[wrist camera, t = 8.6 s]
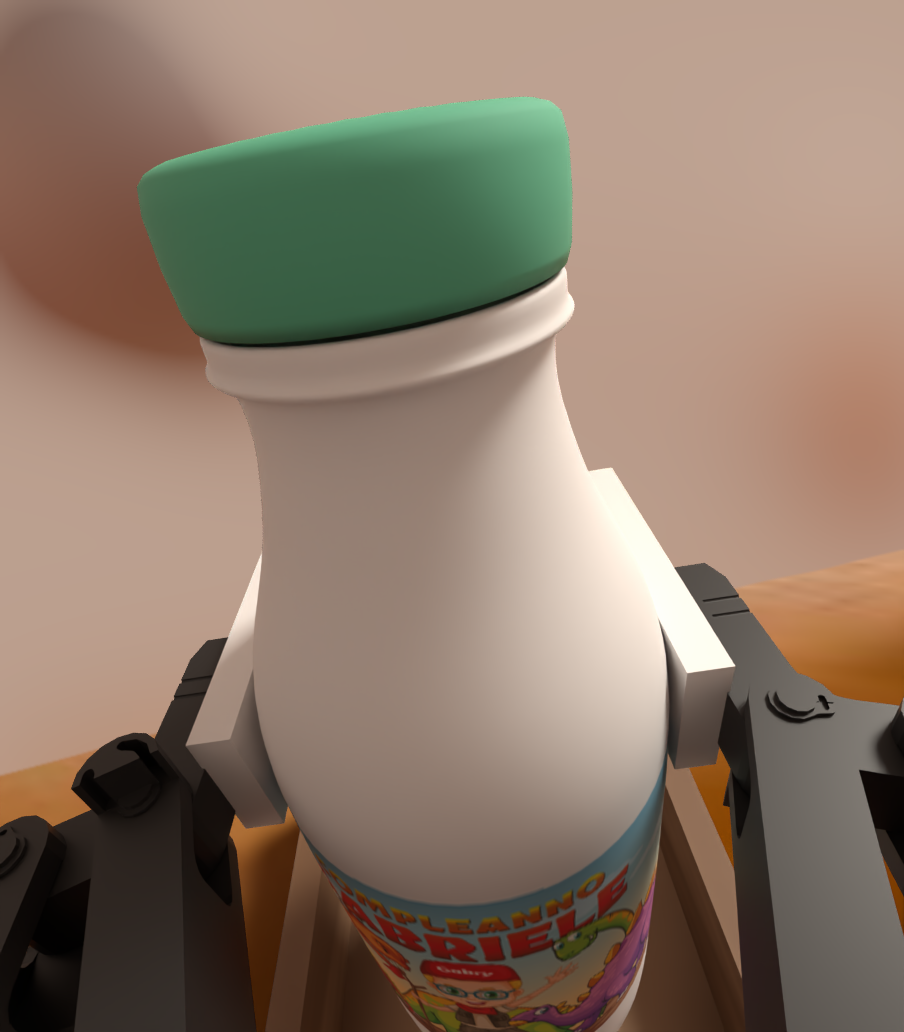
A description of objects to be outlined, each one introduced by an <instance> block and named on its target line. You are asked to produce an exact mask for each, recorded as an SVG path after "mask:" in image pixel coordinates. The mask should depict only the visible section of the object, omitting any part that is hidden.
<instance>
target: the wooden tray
mask: <svg viewBox="0 0 904 1032" xmlns="http://www.w3.org/2000/svg"><path fill="white" fill-rule="evenodd" d="M265 1032H422V1031H421V1030H420V1028H419V1027H418V1026H417V1024H416V1023H415V1022H414V1020H413V1019H412V1017H411V1016H410V1015H409V1013H408V1012H407V1010H406V1009H405V1007H404V1006H403V1004H402V1002H401V1001H400V999H399V998H398V996H397V994H396V993H395V991H394V990H393V988H392V986H391V985H390V983H389V982H388V980H387V978H386V977H385V975H384V973H383V972H382V970H381V968H380V967H379V965H378V964H377V962H376V960H375V959H374V957H373V955H372V954H371V952H370V951H369V949H368V947H367V946H366V944H365V942H364V941H363V939H362V937H361V936H360V934H359V932H358V931H357V929H356V927H355V926H354V924H353V922H352V921H351V919H350V917H349V915H348V914H347V912H346V910H345V909H344V907H343V905H342V903H341V902H340V900H339V898H338V897H337V895H336V893H335V891H334V890H333V888H332V886H331V885H330V883H329V881H328V879H327V878H326V876H325V874H324V873H323V871H322V869H321V867H320V866H319V864H318V862H317V861H316V859H315V857H314V855H313V853H312V852H311V850H310V848H309V846H308V844H307V842H306V840H305V838H304V836H303V834H302V832H301V830H300V833H299V838H298V844H297V850H296V856H295V861H294V867H293V873H292V879H291V884H290V890H289V896H288V902H287V907H286V913H285V919H284V925H283V930H282V936H281V942H280V948H279V954H278V959H277V965H276V971H275V977H274V982H273V988H272V994H271V1000H270V1005H269V1011H268V1017H267V1023H266V1028H265ZM617 1032H746V1029H745V1015H744V1001H743V986H742V972H741V958H740V944H739V930H738V915H737V901H736V887H735V873H734V869H733V867H732V865H731V862H730V860H729V858H728V856H727V853H726V851H725V849H724V846H723V844H722V842H721V840H720V837H719V835H718V833H717V831H716V828H715V826H714V824H713V822H712V819H711V817H710V815H709V813H708V810H707V808H706V806H705V804H704V801H703V799H702V797H701V794H700V792H699V790H698V788H697V785H696V783H695V781H694V779H693V776H692V774H691V772H690V770H689V768H682V769H674V767H673V764H672V762H671V760H670V757H669V755H668V758H667V773H666V783H665V793H664V803H663V812H662V822H661V832H660V841H659V851H658V861H657V869H656V878H655V886H654V894H653V902H652V910H651V919H650V927H649V934H648V942H647V949H646V956H645V961H644V966H643V970H642V975H641V979H640V983H639V986H638V990H637V993H636V996H635V999H634V1001H633V1004H632V1006H631V1009H630V1011H629V1013H628V1015H627V1017H626V1018H625V1020H624V1022H623V1024H622V1026H621V1027H620V1029H619V1030H618V1031H617Z"/></svg>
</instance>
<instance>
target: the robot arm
mask: <svg viewBox="0 0 904 1032" xmlns="http://www.w3.org/2000/svg"><path fill="white" fill-rule="evenodd" d="M588 472H589V474H590V476H591V478H592V480H593V482H594V484H595V486H596V488H597V490H598V492H599V494H600V496H601V497H602V499H603V501H604V503H605V504H606V506H607V508H608V510H609V511H610V513H611V515H612V517H613V518H614V520H615V522H616V524H617V525H618V527H619V529H620V530H621V532H622V534H623V535H624V537H625V539H626V541H627V543H628V545H629V546H630V548H631V550H632V552H633V554H634V556H635V558H636V560H637V562H638V564H639V566H640V568H641V571H642V573H643V575H644V578H645V580H646V583H647V586H648V588H649V591H650V593H651V596H652V599H653V602H654V605H655V609H656V612H657V616H658V620H659V624H660V628H661V632H662V637H663V641H664V647H665V654H666V662H667V673H668V683H669V701H670V711H669V734H668V755H669V757H670V760H671V762H672V764H673V767H674V769H682V768H690V767H697V766H704V765H712V764H716V760H717V755H718V750H719V747H720V749H721V751H722V753H723V754H724V756H725V758H726V760H727V762H728V764H729V766H730V768H731V770H730V774H729V779H728V783H727V787H726V791H725V796H724V802H723V805H724V806H728V807H730V816H731V830H732V844H733V859H734V873H735V887H736V901H737V915H738V930H739V944H740V958H741V972H742V986H743V1001H744V1015H745V1029H746V1032H904V936H903V932H902V928H901V925H900V921H899V917H898V914H897V910H896V906H895V902H894V899H893V895H892V891H891V888H890V884H889V880H888V876H887V873H886V869H885V865H884V862H883V858H882V855H883V857H884V859H885V861H886V863H887V865H888V867H889V869H890V871H891V873H892V875H893V877H894V879H895V880H896V882H897V884H898V886H899V888H900V890H901V892H902V894H903V896H904V698H903V700H902V702H901V704H900V706H897V705H889V704H882V703H874V702H866V701H858V700H852V699H847V698H842V697H838V696H835V695H833V694H832V693H831V692H830V691H829V690H828V689H827V688H826V687H825V686H823V685H822V684H820V683H819V682H817V681H815V680H813V679H811V678H809V677H807V676H805V675H801V674H798V673H797V672H796V671H795V670H794V669H793V668H792V667H791V665H790V664H789V663H788V661H787V660H786V659H785V657H784V656H783V655H782V653H781V652H780V650H779V649H778V648H777V646H776V645H775V644H774V642H773V641H772V640H771V638H770V637H769V635H768V634H767V633H766V631H765V630H764V629H763V627H762V626H761V624H760V623H759V622H758V620H757V619H756V618H755V616H754V615H753V614H752V613H750V611H749V608H748V607H747V605H746V604H745V603H744V601H743V600H742V599H741V598H739V594H738V593H737V592H736V590H735V589H734V588H733V586H732V585H731V584H730V583H729V581H728V579H727V578H726V577H725V576H723V575H722V574H721V573H719V572H718V571H716V570H715V569H713V568H712V567H710V566H708V565H707V564H705V563H701V564H695V565H688V566H682V567H675V568H674V567H673V565H672V564H671V562H670V560H669V559H668V557H667V556H666V554H665V552H664V551H663V549H662V548H661V546H660V544H659V543H658V541H657V540H656V538H655V537H654V535H653V533H652V531H651V530H650V528H649V527H648V525H647V523H646V522H645V520H644V519H643V517H642V515H641V514H640V512H639V511H638V509H637V507H636V506H635V504H634V503H633V501H632V499H631V498H630V496H629V495H628V493H627V491H626V490H625V488H624V487H623V485H622V483H621V482H620V480H619V479H618V477H617V475H616V474H615V472H614V471H613V469H612V468H606V469H600V470H594V471H588ZM261 563H262V553H261V556H260V558H259V561H258V563H257V566H256V568H255V571H254V574H253V576H252V579H251V581H250V584H249V586H248V589H247V591H246V594H245V596H244V599H243V601H242V604H241V606H240V609H239V612H238V614H237V617H236V619H235V622H234V624H233V627H232V629H231V632H230V634H229V637H227V638H221V639H215V640H208V641H207V642H206V643H205V644H204V645H203V646H202V647H201V648H200V649H199V651H198V652H197V653H196V654H195V655H194V656H193V657H192V658H191V660H190V662H189V664H188V666H187V668H186V671H185V673H184V675H183V677H182V679H181V680H182V683H181V684H179V686H178V689H177V691H176V693H175V695H174V700H173V701H172V702H171V704H170V706H169V708H168V710H167V713H166V715H165V717H164V719H163V721H162V724H161V726H160V728H159V730H158V733H157V735H156V737H155V739H154V738H152V737H151V736H149V735H148V734H146V733H131V734H128V735H124V736H121V737H118V738H116V739H115V740H113V741H111V742H109V743H107V744H106V745H104V746H102V747H101V748H100V749H99V750H98V751H96V752H95V753H94V754H93V755H92V756H91V757H90V758H89V759H87V761H86V762H85V763H84V765H83V766H82V767H81V769H80V770H79V772H78V773H77V774H76V777H75V780H74V782H73V785H72V788H71V789H72V790H73V791H74V792H75V793H76V794H77V795H78V796H79V797H80V798H81V799H82V800H83V801H84V802H85V803H86V804H87V805H88V806H89V807H90V808H91V809H92V810H90V811H87V812H85V813H83V814H81V815H78V816H76V817H74V818H71V819H69V820H67V821H65V822H62V823H60V824H58V825H56V826H53V827H52V826H51V825H50V824H49V823H48V822H47V821H46V820H44V819H42V818H40V817H38V816H24V817H20V818H18V819H16V820H13V821H11V822H9V823H6V824H5V825H3V826H2V827H0V1032H256V1023H255V1014H254V1005H253V996H252V987H251V978H250V968H249V959H248V950H247V941H246V932H245V923H244V914H243V905H242V896H241V887H240V878H239V869H238V859H237V850H236V847H235V845H234V842H233V839H232V838H231V837H230V836H229V833H230V830H231V826H232V823H233V819H234V815H235V814H236V816H237V817H238V818H239V820H240V821H241V822H242V824H243V825H244V827H245V828H253V827H261V826H268V825H275V824H282V823H284V822H285V817H286V812H287V807H288V805H287V803H286V801H285V799H284V797H283V794H282V792H281V790H280V787H279V785H278V782H277V780H276V777H275V774H274V771H273V768H272V765H271V762H270V759H269V756H268V753H267V750H266V747H265V744H264V740H263V736H262V732H261V728H260V722H259V717H258V711H257V705H256V699H255V690H254V675H253V640H254V626H255V614H256V606H257V598H258V590H259V581H260V572H261ZM28 947H29V948H28ZM26 952H27V953H26Z"/></svg>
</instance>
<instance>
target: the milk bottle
mask: <svg viewBox="0 0 904 1032" xmlns="http://www.w3.org/2000/svg"><path fill="white" fill-rule="evenodd" d="M570 166H571V165H570V151H569V137H568V134H567V130H566V127H565V122H564V119H563V115H562V111H561V110H560V109H559V108H558V107H557V106H555V105H554V104H553V103H552V102H550V101H547V100H542V99H538V98H534V97H515V98H514V97H513V98H499V99H489V100H479V101H470V102H461V103H460V102H459V103H450V104H444V105H438V106H432V107H419V108H414V109H409V110H403V111H398V112H389V113H381V114H377V115H372V116H367V117H361V118H353V119H345V120H341V121H337V122H333V123H329V124H322V125H315V126H308V127H305V128H300V129H296V130H292V131H286V132H280V133H275V134H269V135H266V136H262V137H258V138H254V139H248V140H243V141H239V142H235V143H231V144H227V145H223V146H219V147H215V148H211V149H208V150H204V151H200V152H196V153H193V154H189V155H185V156H182V157H179V158H175V159H172V160H169V161H166V162H164V163H162V164H160V165H158V166H156V167H155V168H153V169H151V170H150V171H148V172H147V173H146V174H144V175H143V177H142V179H141V180H140V183H139V184H138V186H137V191H138V197H139V204H140V210H141V216H142V219H143V222H144V225H145V228H146V230H147V233H148V236H149V238H150V241H151V244H152V246H153V249H154V252H155V255H156V258H157V260H158V263H159V266H160V268H161V271H162V273H163V275H164V277H165V279H166V282H167V284H168V286H169V288H170V290H171V293H172V295H173V297H174V299H175V301H176V304H177V306H178V308H179V310H180V312H181V314H182V316H183V318H184V319H185V321H186V322H187V323H188V325H189V326H190V327H191V329H192V330H193V331H194V333H195V334H197V335H198V336H200V343H201V347H202V349H203V352H204V354H205V357H206V359H207V366H206V377H207V379H208V381H209V382H210V384H212V386H213V387H214V388H216V389H218V390H220V391H221V392H223V393H225V394H227V395H230V396H233V397H236V398H237V400H238V401H239V403H240V405H241V407H242V409H243V411H244V414H245V416H246V419H247V421H248V424H249V427H250V430H251V434H252V437H253V441H254V445H255V450H256V456H257V461H258V470H259V479H260V489H261V501H262V521H263V545H262V563H261V572H260V581H259V590H258V598H257V606H256V614H255V626H254V640H253V675H254V690H255V699H256V705H257V711H258V717H259V722H260V728H261V732H262V736H263V740H264V744H265V747H266V750H267V753H268V756H269V759H270V762H271V765H272V768H273V771H274V774H275V777H276V780H277V782H278V785H279V787H280V790H281V792H282V794H283V797H284V799H285V801H286V803H287V805H288V807H289V808H290V810H291V812H292V814H293V816H294V818H295V820H296V822H297V824H298V826H299V828H300V830H301V832H302V834H303V836H304V838H305V840H306V842H307V844H308V846H309V848H310V850H311V852H312V853H313V855H314V857H315V859H316V861H317V862H318V864H319V866H320V867H321V869H322V871H323V873H324V874H325V876H326V878H327V879H328V881H329V883H330V885H331V886H332V888H333V890H334V891H335V893H336V895H337V897H338V898H339V900H340V902H341V903H342V905H343V907H344V909H345V910H346V912H347V914H348V915H349V917H350V919H351V921H352V922H353V924H354V926H355V927H356V929H357V931H358V932H359V934H360V936H361V937H362V939H363V941H364V942H365V944H366V946H367V947H368V949H369V951H370V952H371V954H372V955H373V957H374V959H375V960H376V962H377V964H378V965H379V967H380V968H381V970H382V972H383V973H384V975H385V977H386V978H387V980H388V982H389V983H390V985H391V986H392V988H393V990H394V991H395V993H396V994H397V996H398V998H399V999H400V1001H401V1002H402V1004H403V1006H404V1007H405V1009H406V1010H407V1012H408V1013H409V1015H410V1016H411V1017H412V1019H413V1020H414V1022H415V1023H416V1024H417V1026H418V1027H419V1028H420V1030H421V1031H422V1032H617V1031H618V1030H619V1029H620V1027H621V1026H622V1024H623V1022H624V1020H625V1018H626V1017H627V1015H628V1013H629V1011H630V1009H631V1006H632V1004H633V1001H634V999H635V996H636V993H637V990H638V986H639V983H640V979H641V975H642V970H643V966H644V961H645V956H646V949H647V942H648V934H649V927H650V919H651V910H652V902H653V894H654V886H655V878H656V869H657V861H658V851H659V841H660V832H661V822H662V812H663V803H664V793H665V783H666V773H667V758H668V734H669V711H670V701H669V683H668V673H667V662H666V654H665V647H664V641H663V637H662V632H661V628H660V624H659V620H658V616H657V612H656V609H655V605H654V602H653V599H652V596H651V593H650V591H649V588H648V586H647V583H646V580H645V578H644V575H643V573H642V571H641V568H640V566H639V564H638V562H637V560H636V558H635V556H634V554H633V552H632V550H631V548H630V546H629V545H628V543H627V541H626V539H625V537H624V535H623V534H622V532H621V530H620V529H619V527H618V525H617V524H616V522H615V520H614V518H613V517H612V515H611V513H610V511H609V510H608V508H607V506H606V504H605V503H604V501H603V499H602V497H601V496H600V494H599V492H598V490H597V488H596V486H595V484H594V482H593V480H592V478H591V476H590V474H589V472H588V470H587V468H586V465H585V463H584V460H583V458H582V455H581V453H580V451H579V448H578V445H577V443H576V439H575V437H574V434H573V431H572V428H571V425H570V422H569V419H568V416H567V413H566V409H565V406H564V403H563V399H562V396H561V391H560V387H559V383H558V377H557V369H556V356H555V340H556V334H557V333H558V332H559V331H560V330H561V329H562V328H564V327H565V325H566V324H567V323H568V321H569V320H570V318H571V317H572V314H573V312H574V301H573V299H572V297H571V295H569V293H568V290H567V272H566V270H565V267H564V266H565V265H566V263H567V260H568V256H569V252H570V248H571V243H572V182H571V181H572V180H571V167H570Z"/></svg>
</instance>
